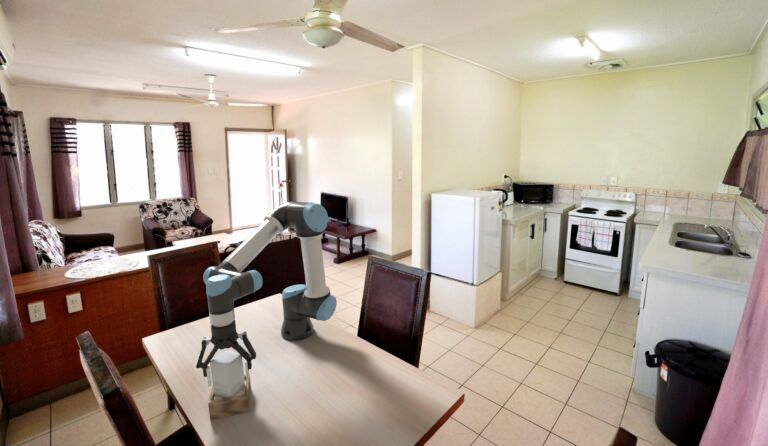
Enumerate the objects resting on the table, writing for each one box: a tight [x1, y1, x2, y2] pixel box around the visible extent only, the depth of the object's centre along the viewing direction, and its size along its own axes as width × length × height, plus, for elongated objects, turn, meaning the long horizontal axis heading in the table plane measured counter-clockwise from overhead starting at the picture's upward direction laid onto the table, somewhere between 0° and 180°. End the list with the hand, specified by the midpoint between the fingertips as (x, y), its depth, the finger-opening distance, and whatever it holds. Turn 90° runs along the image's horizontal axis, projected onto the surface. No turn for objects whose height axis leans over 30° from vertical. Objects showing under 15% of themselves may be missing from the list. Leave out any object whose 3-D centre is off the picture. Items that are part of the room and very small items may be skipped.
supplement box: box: [209, 350, 245, 398], centre depth 122 cm, size 7×7×13 cm
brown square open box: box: [207, 373, 252, 420], centre depth 124 cm, size 12×12×6 cm
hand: (229, 380), depth 123 cm, fingers open, 11 cm apart
